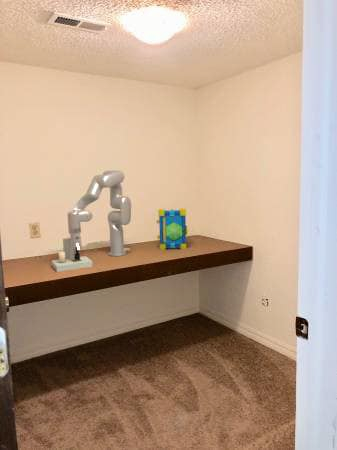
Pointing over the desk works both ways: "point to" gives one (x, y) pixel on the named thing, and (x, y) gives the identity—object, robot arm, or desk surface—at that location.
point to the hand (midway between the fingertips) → (76, 258)
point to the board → (70, 263)
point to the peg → (74, 256)
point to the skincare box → (67, 248)
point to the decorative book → (172, 228)
